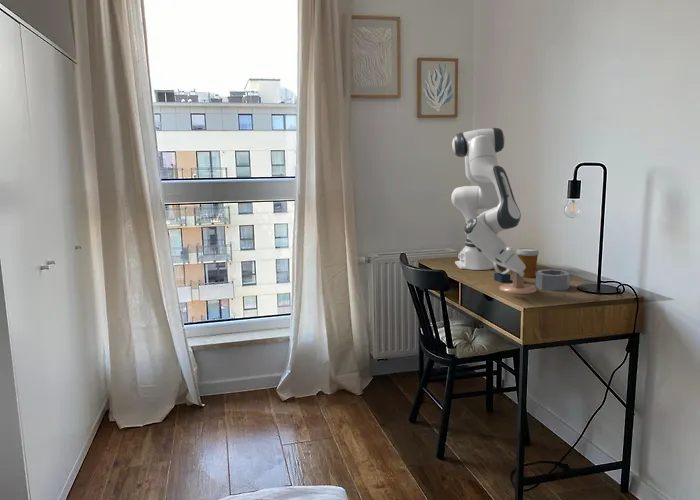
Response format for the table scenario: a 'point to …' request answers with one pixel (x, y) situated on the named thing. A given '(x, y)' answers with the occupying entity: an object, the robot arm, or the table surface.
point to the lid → (518, 286)
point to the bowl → (552, 280)
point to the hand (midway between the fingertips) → (519, 273)
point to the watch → (501, 274)
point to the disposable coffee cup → (528, 260)
